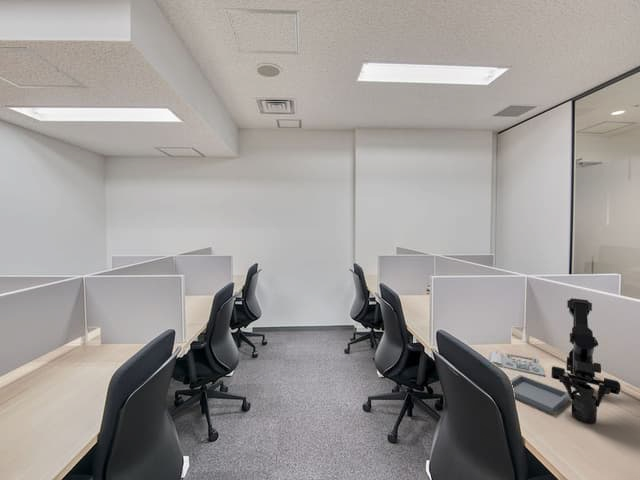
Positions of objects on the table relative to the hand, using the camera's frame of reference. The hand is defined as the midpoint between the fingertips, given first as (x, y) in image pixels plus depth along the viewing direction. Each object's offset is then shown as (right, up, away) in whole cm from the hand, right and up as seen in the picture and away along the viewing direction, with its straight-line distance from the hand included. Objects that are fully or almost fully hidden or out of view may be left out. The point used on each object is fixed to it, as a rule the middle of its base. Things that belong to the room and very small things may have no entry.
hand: (584, 402), depth 103 cm
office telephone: (+6, -6, +46) cm, 47 cm away
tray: (-6, -6, +16) cm, 18 cm away
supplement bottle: (+1, -7, +1) cm, 7 cm away
